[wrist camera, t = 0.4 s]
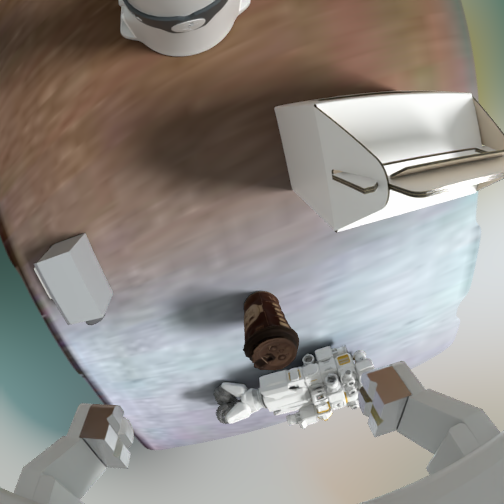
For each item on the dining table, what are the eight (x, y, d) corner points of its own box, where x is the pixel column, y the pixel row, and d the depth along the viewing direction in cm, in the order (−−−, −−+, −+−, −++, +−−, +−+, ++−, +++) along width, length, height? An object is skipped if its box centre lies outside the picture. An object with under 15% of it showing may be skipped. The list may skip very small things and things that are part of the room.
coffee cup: (234, 323, 56) (242, 375, 44) (237, 286, 52) (246, 336, 40) (280, 322, 57) (297, 371, 45) (286, 285, 53) (307, 333, 42)
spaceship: (368, 368, 67) (383, 406, 56) (233, 406, 71) (234, 445, 60) (363, 326, 59) (382, 367, 49) (207, 371, 63) (204, 415, 53)
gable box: (398, 90, 40) (539, 102, 16) (408, 164, 46) (535, 222, 22) (271, 107, 40) (367, 103, 15) (290, 190, 46) (382, 288, 21)
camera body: (51, 245, 44) (33, 264, 37) (85, 232, 44) (69, 251, 38) (83, 308, 50) (72, 332, 44) (117, 300, 50) (107, 324, 44)
